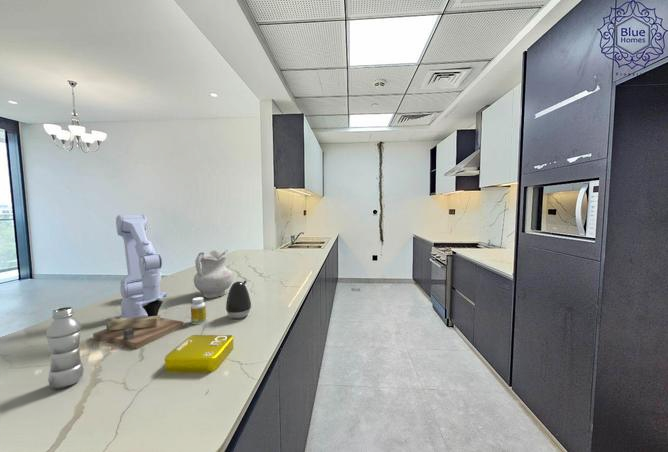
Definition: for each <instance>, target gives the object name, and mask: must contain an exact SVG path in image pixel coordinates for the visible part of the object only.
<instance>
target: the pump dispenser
mask: <svg viewBox="0 0 668 452" xmlns="http://www.w3.org/2000/svg"><path fill="white" fill-rule="evenodd" d="M246 284H247V280H243V282H242V281H234V282H232V283H231V285H230V287H229V290H228V292H227V296H226V297H227V298H226V302H225V303H226V304H225V311H226V313H227V315H228V316H229V317H230V318H231V319H235V320H237V319H238V320H239V319H243V318H245V317H246V316H247V315H248V314H249V313H250V311H251V308H252V301H251V297H250V293H249V290H248V288H247V286H246Z"/></svg>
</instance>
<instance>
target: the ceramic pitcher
mask: <svg viewBox="0 0 668 452" xmlns="http://www.w3.org/2000/svg"><path fill="white" fill-rule="evenodd" d="M228 250H229V249H224V251H221V250H217V249H213V250H211V251H210V252H209V253H208V254H205V252H202V251H201V252H199V253H198V254H197V256H196V259H195V261H194V262H195V269H196V274H194V278H193V284H194V286H195V288H196V289H197V291H199V292H201V293H203V294H202V297H203V298H204V297H205V299H207V298H208V299H214V298H219V296H220V297H223V296H224V295H226V294H227V293H226V292H225V291H227V290H228V289H230V288H231V286H232V284H233V280H234V274H233V272H232V271H231V270H230V269H229V268H227V267H226V264H225V263H226V262H225V261H226V259H227V256H228V253H229V252H228Z"/></svg>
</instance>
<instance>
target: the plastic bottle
mask: <svg viewBox="0 0 668 452" xmlns="http://www.w3.org/2000/svg"><path fill="white" fill-rule="evenodd" d="M73 315H74V310H73V307H72V306H64V307H60V308H55V309H54V310H52V320H53V321H52V322H51V323H50V324H49V325H48V328H47V330H46V331H45V336H46V340H47V344H48V347H49V353H50V354H49V355H50V363H49V365H50V366H49V372H48V377H47V380H48V381H47V382H48V384H49V386H50V387H51V388H53V389H62V388H67V387H69V386H72V385H75V384H76V383H78V382H79V381H80V380H81V379H82V377H83V375H84V370H85V368H84V365H83V362H82V359H81V358H82V357H81V352H80V339H81V332H82V324H81V322H80V321H79V320H78V319H77V318H75V317H74V316H73Z"/></svg>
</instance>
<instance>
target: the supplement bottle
mask: <svg viewBox="0 0 668 452" xmlns="http://www.w3.org/2000/svg"><path fill="white" fill-rule="evenodd" d="M206 311H207V310H206V303H205V302H204V297H203V296H198V297H194V298H192V304H191V306H190V320H191V324H193V325H200V324H204V323H205V322H206V321H207V312H206Z"/></svg>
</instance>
